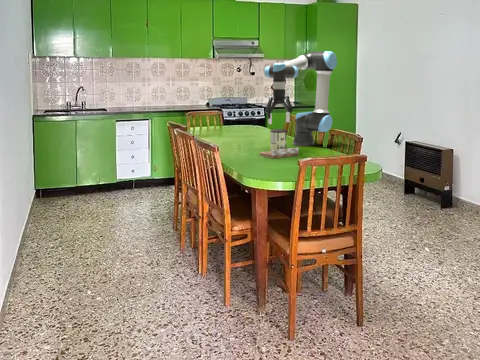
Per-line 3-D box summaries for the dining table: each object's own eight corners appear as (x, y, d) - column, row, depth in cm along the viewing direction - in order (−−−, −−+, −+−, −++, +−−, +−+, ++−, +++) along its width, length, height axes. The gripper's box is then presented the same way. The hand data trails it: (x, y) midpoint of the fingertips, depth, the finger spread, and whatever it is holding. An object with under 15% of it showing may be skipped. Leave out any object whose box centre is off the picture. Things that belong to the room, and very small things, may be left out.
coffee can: (276, 150, 326) (276, 128, 323) (289, 151, 320) (289, 129, 317) (266, 152, 318) (266, 130, 315) (280, 154, 312) (280, 131, 309)
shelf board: (285, 152, 330) (285, 144, 329) (298, 155, 318) (299, 147, 317) (260, 155, 320) (260, 147, 318) (273, 158, 308) (273, 150, 307)
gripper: (291, 87, 320) (291, 121, 325) (258, 89, 307) (259, 124, 312) (299, 88, 313) (298, 122, 318) (265, 89, 301) (265, 125, 306)
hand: (279, 123), depth 315 cm, fingers open, 13 cm apart
